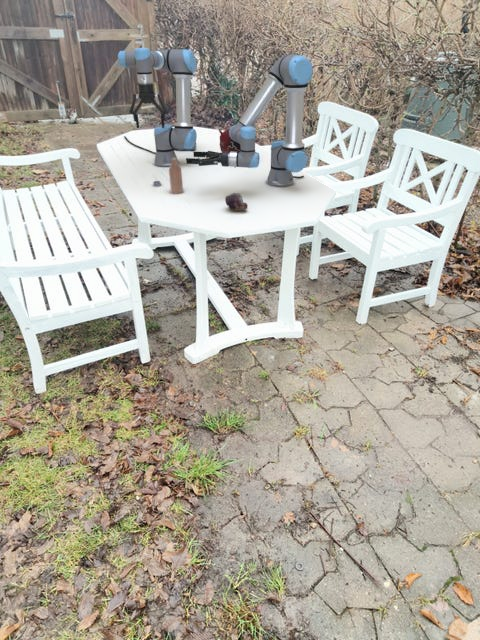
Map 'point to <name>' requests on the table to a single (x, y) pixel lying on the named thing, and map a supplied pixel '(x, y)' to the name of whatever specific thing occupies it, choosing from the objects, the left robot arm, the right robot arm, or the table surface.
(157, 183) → the cap
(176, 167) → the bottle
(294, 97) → the right robot arm
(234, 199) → the rock
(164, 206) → the table surface
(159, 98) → the left robot arm
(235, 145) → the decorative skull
